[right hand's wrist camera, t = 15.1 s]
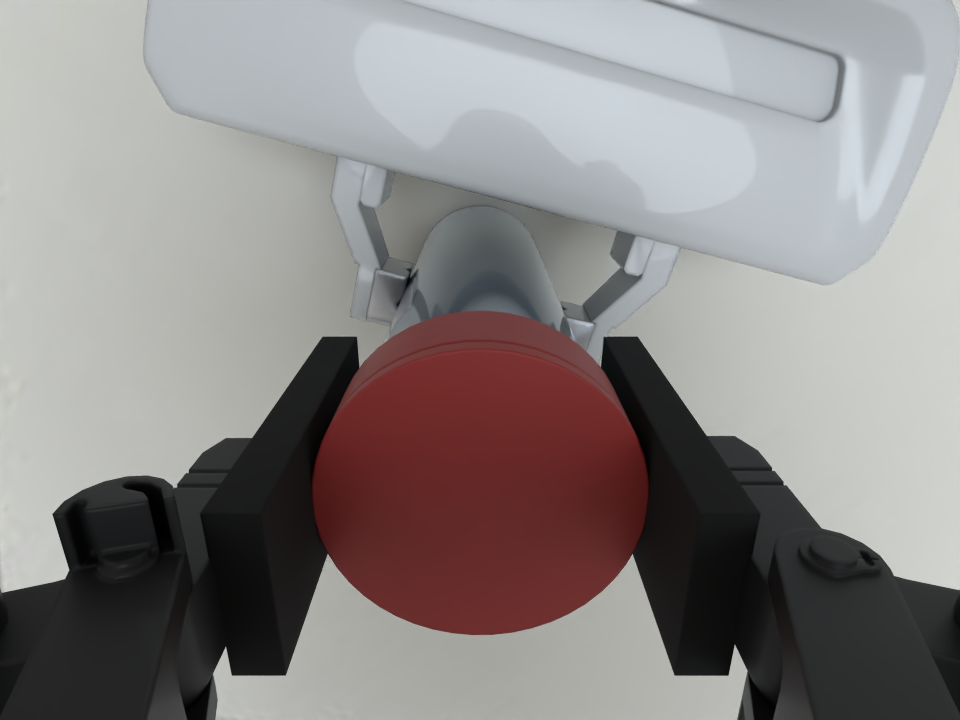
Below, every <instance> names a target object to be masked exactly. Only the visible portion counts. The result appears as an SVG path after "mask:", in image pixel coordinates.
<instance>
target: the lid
mask: <svg viewBox="0 0 960 720" xmlns="http://www.w3.org/2000/svg"><path fill="white" fill-rule="evenodd" d="M648 493H649V475H648V470H647V465H646V461H645V456H644V453H643V451H642V448H641V446H640V443H639V440H638V438H637V436H636V434H635V432H634V429H633V428H632V425H631V423H630V421H629V419H628V417H627V415H626V413H625V411H624V409H623V407H622V405H621V403H620V401H619V398H618V396H617V394H616V392H615V390H614V388H613V386H612V385H611V383H610V381H609V379H608V378H607V376H606V374H605V373H604V371H603V370H602V369H601V367H600V366H599V365H598V364H597V362H596V361H595V360H594V359H593V358H592V357H591V356H590V355H589V354H588V353H587V352H586V351H585V350H584V349H583V348H582V347H581V346H580V345H579V344H577V343H576V342H574V341H573V340H572V339H570V338H569V337H568V336H566V335H565V334H563V333H561V332H559V331H558V330H556V329H554V328H552V327H550V326H548V325H546V324H543V323H541V322H538V321H536V320H533V319H530V318H527V317H523V316H519V315H515V314H511V313H504V312H495V311H464V312H457V313H450V314H445V315H441V316H438V317H434V318H430V319H427V320H425V321H422V322H420V323H417V324H415V325H413V326H410V327H408V328H407V329H405V330H403V331H401V332H400V333H398V334H396V335H395V336H393V337H391V338H390V339H389V340H388V341H386V342H385V343H384V344H382V345H381V346H380V347H379V348H377V349H376V350H375V351H374V352H373V353H372V354H371V355H370V356H369V357H368V358H367V360H366V361H365V362H364V363H363V364H362V366H361V367H360V368H359V370H358V371H357V372H356V374H355V375H354V377H353V378H352V380H351V382H350V384H349V386H348V388H347V390H346V392H345V394H344V396H343V398H342V400H341V402H340V404H339V406H338V408H337V410H336V413H335V415H334V417H333V419H332V421H331V423H330V425H329V427H328V429H327V432H326V434H325V436H324V438H323V440H322V442H321V445H320V448H319V451H318V454H317V456H316V459H315V464H314V470H313V475H312V500H313V508H314V516H315V522H316V525H317V529H318V532H319V536H320V538H321V540H322V542H323V544H324V546H325V549H326V551H327V553H328V554H329V556H330V558H331V559H332V561H333V562H334V564H335V565H336V567H337V568H338V570H339V571H340V572H341V573H342V574H343V575H344V577H345V578H346V579H347V580H348V581H349V583H351V584H352V585H353V586H354V587H355V588H356V589H357V590H358V591H359V592H360V593H361V594H363V595H364V596H365V597H366V598H368V599H369V600H371V601H372V602H373V603H375V604H376V605H378V606H379V607H381V608H383V609H384V610H386V611H388V612H390V613H392V614H393V615H395V616H397V617H400V618H402V619H404V620H407V621H409V622H411V623H414V624H417V625H420V626H424V627H427V628H430V629H434V630H439V631H444V632H449V633H457V634H468V635H494V634H503V633H512V632H517V631H521V630H526V629H530V628H534V627H537V626H540V625H543V624H546V623H549V622H552V621H554V620H556V619H558V618H561V617H563V616H565V615H567V614H569V613H571V612H573V611H574V610H576V609H578V608H579V607H581V606H583V605H585V604H586V603H587V602H589V601H590V600H591V599H593V598H594V597H595V596H597V595H598V594H599V593H601V592H602V591H603V590H604V589H605V588H606V587H607V586H608V585H609V584H610V583H611V582H612V581H613V580H614V579H615V578H616V576H617V575H618V574H619V573H620V571H621V570H622V569H623V568H624V566H625V565H626V564H627V562H628V560H629V559H630V557H631V555H632V554H633V552H634V550H635V549H636V546H637V544H638V541H639V539H640V537H641V534H642V532H643V529H644V525H645V519H646V511H647V502H648Z"/></svg>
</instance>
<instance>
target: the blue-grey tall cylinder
mask: <svg viewBox="0 0 960 720" xmlns="http://www.w3.org/2000/svg"><path fill="white" fill-rule="evenodd" d="M464 311H495V312H504V313H511V314H515V315H519V316H523V317H527V318H530V319H533V320H536V321H538V322H541V323H543V324H546V325H548V326H550V327H552V328H554V329H556V330H558V331H559V332H561V333H563V334H565V335H566V336H568V337H569V338H570V339H572V340H573V341H574V342H576V339H575V337H574V334H573V332H572V330H571V327H570V325H569V322H568V320H567V318H566V315H565V313H564V311H563V308H562V306H561V303H560V301H559V299H558V296H557V294H556V292H555V289H554V287H553V284H552V282H551V280H550V277H549V275H548V273H547V270H546V268H545V265H544V263H543V261H542V258H541V256H540V253H539V251H538V249H537V246H536V244H535V242H534V239H533V237H532V236H531V234H530V232H529V231H528V230H527V228H526V227H525V226H524V225H523V224H522V223H521V222H520V221H519V220H518V219H517V218H515V217H514V216H513V215H511V214H509V213H507V212H505V211H503V210H500V209H498V208H493V207H489V206H472V207H466V208H463V209H460V210H457V211H455V212H453V213H451V214H449V215H448V216H446V217H445V218H443V219H442V220H441V221H440V222H439V223H438V224H437V225H436V226H435V227H434V228H433V229H432V231H431V232H430V234H429V235H428V237H427V239H426V241H425V244H424V246H423V248H422V251H421V253H420V256H419V258H418V260H417V263H416V265H415V268H414V270H413V272H412V275H411V277H410V280H409V282H408V284H407V287H406V289H405V292H404V294H403V296H402V299H401V301H400V304H399V306H398V308H397V311H396V313H395V316H394V318H393V320H392V323H391V325H390V328H389V330H388V332H387V335H386V337H385V340H384V342H383V344H384V343H385V342H386V341H388V340H389V339H390V338H391V337H393V336H395V335H396V334H398V333H400V332H401V331H403V330H405V329H407V328H408V327H410V326H413V325H415V324H417V323H420V322H422V321H425V320H427V319H430V318H434V317H438V316H441V315H445V314H450V313H457V312H464ZM576 343H577V342H576Z"/></svg>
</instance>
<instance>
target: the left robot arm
mask: <svg viewBox="0 0 960 720" xmlns="http://www.w3.org/2000/svg"><path fill="white" fill-rule="evenodd" d="M959 52H960V24H959V18H958V15H957V12H956V9H955V6H954V4H953V2H952V0H148V3H147V12H146V20H145V29H144V42H143V56H144V62H145V66H146V68H147V70H148V72H149V74H150V76H151V78H152V79H153V81H154V83H155V85H156V87H157V88H158V90H159V92H160V94H161V95H162V97H163V99H164V100H165V102H166V103H167V105H168V106H169V108H170V109H171V110H173V111H174V112H176V113H178V114H181V115H185V116H189V117H192V118H196V119H200V120H203V121H207V122H211V123H215V124H218V125H222V126H226V127H230V128H233V129H237V130H241V131H245V132H249V133H252V134H256V135H260V136H264V137H267V138H271V139H275V140H279V141H282V142H286V143H290V144H294V145H297V146H301V147H305V148H309V149H312V150H316V151H320V152H324V153H327V154H331V155H335V156H337V162H336V168H335V174H334V180H333V186H332V192H331V200H332V203H333V205H334V208H335V211H336V214H337V216H338V219H339V222H340V224H341V227H342V230H343V232H344V235H345V238H346V240H347V243H348V246H349V249H350V251H351V254H352V257H353V259H354V262H355V263H356V264H359V268H358V273H357V278H356V284H355V289H354V294H353V300H352V305H351V310H350V315H351V317H352V318H356V319H359V320H363V321H370V322H374V323H378V324H383V325H387V326H390V325H391V323H392V320H393V318H394V316H395V313H396V311H397V308H398V306H399V304H400V301H401V299H402V296H403V294H404V292H405V289H406V287H407V284H408V282H409V280H410V277H411V272H412V267H413V264H412V263H409V262H405V261H401V260H398V259H394V258H391V257H389V254H388V251H387V248H386V244H385V241H384V238H383V235H382V232H381V228H380V225H379V222H378V219H377V216H376V212H375V209H374V208H377V207H378V206H380V205H381V204H382V203H383V202H384V201H385V200H386V199H388V198H389V197H390V194H391V189H392V184H393V180H394V175H395V172H399V173H403V174H406V175H410V176H414V177H418V178H421V179H425V180H429V181H433V182H437V183H440V184H444V185H448V186H452V187H455V188H459V189H463V190H467V191H470V192H474V193H478V194H482V195H485V196H489V197H493V198H497V199H500V200H504V201H508V202H512V203H516V204H519V205H523V206H527V207H531V208H534V209H538V210H542V211H546V212H549V213H553V214H557V215H561V216H564V217H568V218H572V219H576V220H579V221H583V222H587V223H591V224H594V225H598V226H602V227H606V228H610V229H613V230H617V234H616V237H615V240H614V243H613V246H612V249H611V252H610V255H611V257H612V258H613V260H614V261H615V262H616V263H617V264H618V265H619V266H620V267H621V268H620V269H619V270H618V271H617V272H616V273H615V274H614V275H613V276H612V277H611V278H610V279H608V280H607V281H606V282H605V283H604V284H603V285H602V286H601V287H600V288H599V289H598V290H597V291H596V292H595V293H594V294H593V295H592V296H591V297H590V298H589V299H588V300H587V301H586V302H585V303H584V304H583V306H580V305H576V304H572V303H567V302H563V301H560V303H561V306H562V308H563V311H564V313H565V315H566V318H567V320H568V322H569V325H570V327H571V330H572V332H573V334H574V337H575V339H576V342H577V344H579V345H580V346H581V347H582V348H583V349H584V350H585V351H586V352H587V353H588V354H589V355H590V356H591V357H592V358H593V359H594V360H595V361H596V362H597V364H599V361H600V358H601V355H602V350H603V337H608V336H609V333H610V330H611V328H616V327H618V326H619V325H620V324H621V323H622V322H624V321H625V320H626V319H627V318H628V317H629V316H631V315H632V314H633V313H634V312H635V311H637V310H638V309H639V308H640V307H641V306H642V305H644V304H645V303H646V302H647V301H648V300H650V299H651V298H652V297H653V296H654V295H655V294H657V293H658V292H659V291H660V290H661V289H663V288H664V287H665V286H666V285H667V283H668V280H669V277H670V275H671V272H672V270H673V267H674V264H675V262H676V259H677V257H678V254H679V251H680V249H681V248H685V249H689V250H692V251H696V252H700V253H704V254H707V255H711V256H715V257H719V258H722V259H726V260H730V261H734V262H737V263H741V264H745V265H749V266H752V267H756V268H760V269H764V270H767V271H771V272H775V273H779V274H783V275H786V276H790V277H794V278H798V279H801V280H805V281H809V282H813V283H817V284H821V285H831V284H833V283H835V282H837V281H839V280H841V279H842V278H844V277H846V276H847V275H849V274H850V273H852V272H853V271H855V270H856V269H858V268H859V267H861V266H862V265H864V264H865V263H867V262H868V261H869V260H870V259H871V258H872V257H873V256H874V255H875V254H876V252H877V251H878V250H879V248H880V247H881V245H882V244H883V242H884V240H885V238H886V236H887V235H888V233H889V231H890V229H891V227H892V225H893V223H894V221H895V219H896V217H897V215H898V213H899V211H900V209H901V207H902V205H903V203H904V201H905V199H906V197H907V194H908V192H909V190H910V188H911V186H912V183H913V181H914V179H915V177H916V175H917V172H918V170H919V168H920V166H921V163H922V161H923V158H924V156H925V154H926V151H927V149H928V147H929V144H930V142H931V140H932V137H933V135H934V132H935V130H936V127H937V124H938V122H939V119H940V117H941V114H942V111H943V109H944V106H945V103H946V101H947V98H948V95H949V92H950V89H951V86H952V83H953V80H954V76H955V73H956V68H957V64H958V59H959Z"/></svg>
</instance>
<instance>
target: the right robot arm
mask: <svg viewBox="0 0 960 720" xmlns="http://www.w3.org/2000/svg"><path fill="white" fill-rule="evenodd" d="M601 369H602V370H603V371H604V373H605V374H606V376H607V378H608V379H609V381H610V383H611V385H612V386H613V388H614V390H615V392H616V394H617V396H618V398H619V401H620V403H621V405H622V407H623V409H624V411H625V413H626V415H627V417H628V419H629V421H630V423H631V425H632V428H633V429H634V432H635V434H636V436H637V438H638V440H639V443H640V446H641V448H642V451H643V453H644V456H645V461H646V465H647V470H648V475H649V493H648V502H647V511H646V519H645V525H644V529H643V532H642V534H641V537H640V539H639V541H638V544H637V546H636V549H635V550H634V552H633V556H634V559H635V562H636V565H637V567H638V570H639V573H640V576H641V579H642V582H643V585H644V588H645V591H646V594H647V597H648V599H649V602H650V605H651V608H652V611H653V614H654V617H655V620H656V623H657V626H658V628H659V631H660V634H661V637H662V640H663V643H664V646H665V649H666V652H667V655H668V658H669V660H670V663H671V666H672V669H673V672H674V675H690V676H728V675H729V670H730V665H731V660H732V655H733V650H734V645H736V647H737V649H738V651H739V654H740V656H741V658H742V660H743V662H744V664H745V666H746V668H747V670H748V672H747V676H746V681H745V686H744V690H743V695H742V700H741V705H740V709H739V714H738V719H737V720H960V590H955V589H950V588H946V587H941V586H936V585H931V584H926V583H921V582H917V581H912V580H907V579H903V578H899V577H896V576H894V575H893V573H892V571H891V569H890V568H889V567H888V565H887V564H886V563H885V561H884V560H883V559H882V558H881V556H880V555H878V554H877V553H876V552H874V551H873V550H872V549H870V548H869V547H867V546H866V545H865V544H863V543H861V542H859V541H857V540H855V539H852V538H850V537H848V536H846V535H844V534H841V533H837V532H833V531H829V530H825V529H822V528H821V527H820V526H819V525H818V523H817V522H816V521H815V520H814V519H813V517H812V516H811V515H810V514H809V512H808V511H807V510H806V509H805V508H804V506H803V505H802V504H801V503H800V501H799V500H798V499H797V498H796V497H795V495H794V494H793V493H792V492H791V490H790V489H789V488H788V487H787V486H784V484H783V481H782V479H781V478H780V477H779V476H778V475H777V473H776V472H775V471H772V467H771V466H770V465H769V464H768V462H767V461H766V460H765V459H764V457H763V456H762V455H761V454H760V453H759V451H758V450H756V449H754V448H753V447H751V446H750V445H748V444H746V443H745V442H743V441H742V440H740V439H738V438H737V437H735V436H706V434H705V433H704V431H703V430H702V429H701V427H700V426H699V424H698V423H697V421H696V420H695V419H694V417H693V416H692V414H691V413H690V411H689V410H688V409H687V407H686V406H685V404H684V403H683V401H682V400H681V398H680V397H679V396H678V394H677V393H676V391H675V390H674V388H673V387H672V386H671V384H670V383H669V381H668V380H667V378H666V377H665V375H664V374H663V373H662V371H661V370H660V368H659V367H658V365H657V364H656V363H655V361H654V360H653V358H652V357H651V355H650V354H649V352H648V351H647V350H646V348H645V347H644V345H643V344H642V342H641V341H640V340H639V338H638V337H603V350H602V363H601ZM358 370H359V358H358V345H357V337H322V339H321V340H320V341H319V343H318V344H317V346H316V347H315V349H314V350H313V352H312V353H311V354H310V356H309V357H308V359H307V360H306V362H305V363H304V364H303V366H302V367H301V369H300V370H299V372H298V373H297V375H296V376H295V377H294V379H293V380H292V382H291V383H290V385H289V386H288V387H287V389H286V390H285V392H284V393H283V395H282V396H281V398H280V399H279V400H278V402H277V403H276V405H275V406H274V408H273V409H272V410H271V412H270V413H269V415H268V416H267V418H266V419H265V421H264V422H263V423H262V425H261V426H260V428H259V429H258V431H257V432H256V433H255V435H254V436H253V438H226V439H224V440H222V441H221V442H219V443H218V444H216V445H214V446H213V447H211V448H210V449H208V450H206V451H205V452H203V453H202V454H201V456H200V457H199V458H198V459H197V461H196V462H195V463H194V464H193V465H192V467H191V468H190V469H189V473H186V474H185V475H184V477H183V478H182V479H181V480H180V481H179V483H178V484H177V488H174V489H173V486H172V485H171V484H169V483H168V482H167V481H165V480H164V479H161V478H157V477H152V476H128V477H123V478H118V479H114V480H109V481H104V482H102V483H99V484H97V485H94V486H92V487H89V488H87V489H84V490H82V491H80V492H79V493H77V494H75V495H74V496H72V497H71V498H69V499H67V500H66V501H64V502H63V503H62V504H61V505H60V507H59V508H58V509H57V510H56V511H55V512H54V513H53V517H54V521H55V524H56V527H57V531H58V534H59V537H60V540H61V544H62V547H63V550H64V554H65V557H66V560H67V563H68V567H69V572H68V574H67V577H66V579H64V580H60V581H57V582H52V583H48V584H43V585H38V586H33V587H28V588H24V589H19V590H14V591H9V592H4V593H2V592H1V589H0V720H215V717H216V709H217V693H216V686H215V681H214V676H213V672H214V670H215V668H216V666H217V664H218V662H219V660H220V658H221V655H222V653H223V651H224V649H225V647H226V648H227V653H228V658H229V663H230V668H231V673H232V675H286V673H287V670H288V667H289V664H290V661H291V659H292V656H293V653H294V650H295V647H296V644H297V641H298V638H299V635H300V632H301V629H302V627H303V624H304V621H305V618H306V615H307V612H308V609H309V606H310V603H311V600H312V598H313V595H314V592H315V589H316V586H317V583H318V580H319V577H320V574H321V571H322V568H323V566H324V563H325V560H326V557H327V554H328V553H327V551H326V549H325V546H324V544H323V542H322V540H321V538H320V536H319V532H318V529H317V525H316V522H315V516H314V508H313V500H312V475H313V470H314V464H315V459H316V456H317V454H318V451H319V448H320V445H321V442H322V440H323V438H324V436H325V434H326V432H327V429H328V427H329V425H330V423H331V421H332V419H333V417H334V415H335V413H336V410H337V408H338V406H339V404H340V402H341V400H342V398H343V396H344V394H345V392H346V390H347V388H348V386H349V384H350V382H351V380H352V378H353V377H354V375H355V374H356V372H357V371H358Z"/></svg>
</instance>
